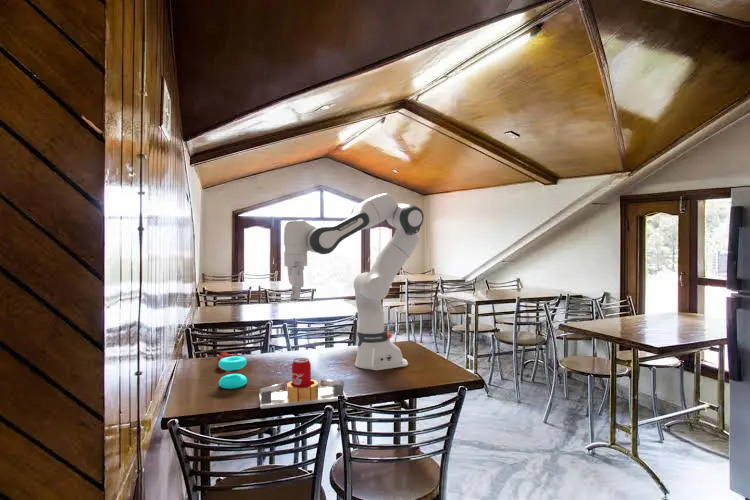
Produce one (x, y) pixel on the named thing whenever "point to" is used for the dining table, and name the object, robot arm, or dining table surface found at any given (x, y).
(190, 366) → the dining table surface
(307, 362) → the beverage can
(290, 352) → the dining table surface
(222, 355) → the mechanical linkage
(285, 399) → the coupling base
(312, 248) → the robot arm
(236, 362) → the donuts
